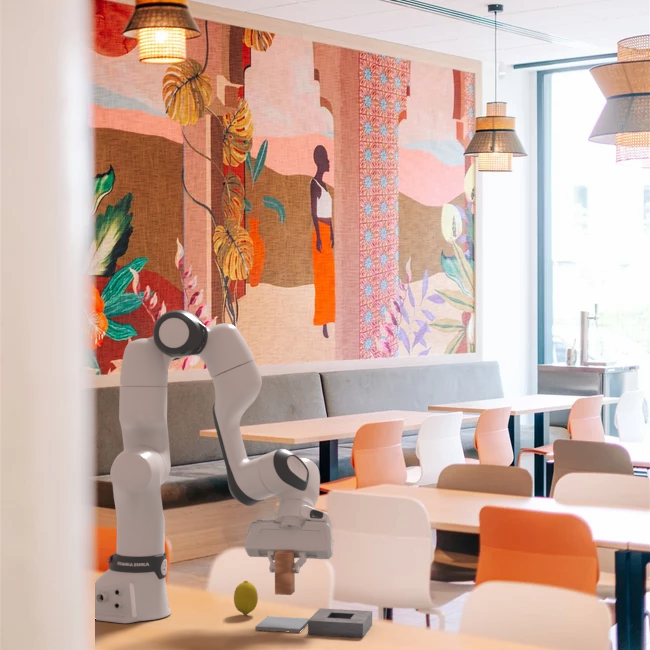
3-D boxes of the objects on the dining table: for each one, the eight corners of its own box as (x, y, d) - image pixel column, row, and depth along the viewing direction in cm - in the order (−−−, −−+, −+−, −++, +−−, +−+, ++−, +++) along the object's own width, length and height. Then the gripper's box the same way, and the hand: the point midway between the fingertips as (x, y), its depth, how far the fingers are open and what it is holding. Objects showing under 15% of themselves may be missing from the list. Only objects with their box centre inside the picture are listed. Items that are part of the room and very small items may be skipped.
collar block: (307, 634, 228) (307, 620, 228) (319, 621, 240) (319, 608, 240) (362, 637, 226) (362, 623, 226) (372, 624, 238) (372, 611, 238)
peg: (274, 594, 235) (274, 553, 235) (279, 591, 238) (278, 550, 239) (290, 595, 234) (290, 553, 234) (294, 591, 237) (294, 551, 238)
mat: (255, 630, 232) (255, 626, 232) (267, 619, 242) (267, 616, 242) (299, 632, 230) (299, 629, 230) (310, 622, 239) (310, 618, 240)
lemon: (254, 618, 242) (254, 583, 243) (230, 617, 244) (231, 582, 244) (260, 613, 248) (260, 578, 248) (237, 612, 249) (237, 577, 249)
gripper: (248, 511, 246) (236, 561, 236) (334, 513, 241) (326, 564, 231) (253, 528, 250) (241, 578, 240) (338, 530, 246) (330, 581, 236)
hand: (284, 571), depth 236 cm, fingers closed on peg, 4 cm apart
